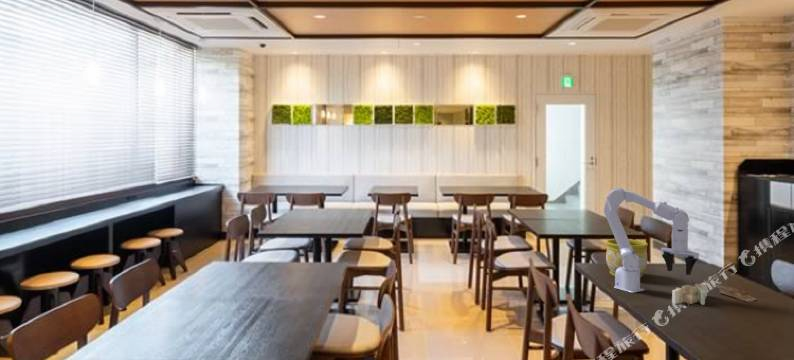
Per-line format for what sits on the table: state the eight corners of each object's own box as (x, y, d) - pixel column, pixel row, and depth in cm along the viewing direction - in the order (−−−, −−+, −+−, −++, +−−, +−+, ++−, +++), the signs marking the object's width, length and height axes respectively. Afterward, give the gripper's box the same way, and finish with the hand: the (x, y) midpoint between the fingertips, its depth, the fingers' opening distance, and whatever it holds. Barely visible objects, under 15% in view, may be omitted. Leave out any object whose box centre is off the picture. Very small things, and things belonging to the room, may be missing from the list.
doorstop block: (681, 300, 201) (681, 286, 201) (687, 299, 203) (688, 284, 202) (691, 303, 197) (691, 288, 197) (697, 302, 199) (698, 287, 199)
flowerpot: (605, 279, 235) (605, 244, 234) (605, 270, 251) (606, 237, 250) (648, 282, 228) (649, 246, 227) (645, 273, 245) (646, 239, 244)
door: (701, 304, 195) (702, 292, 194) (695, 297, 204) (695, 285, 204) (706, 304, 194) (706, 292, 194) (700, 297, 204) (700, 285, 203)
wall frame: (671, 303, 198) (671, 288, 198) (702, 295, 208) (703, 281, 208) (675, 304, 197) (676, 290, 196) (707, 296, 207) (708, 282, 206)
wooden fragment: (763, 303, 197) (763, 300, 197) (732, 302, 199) (732, 299, 199) (732, 286, 223) (732, 283, 223) (704, 285, 225) (704, 282, 225)
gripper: (657, 238, 211) (656, 270, 212) (692, 243, 199) (691, 277, 200) (666, 236, 215) (666, 268, 216) (702, 241, 203) (701, 275, 204)
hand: (679, 272), depth 208 cm, fingers open, 7 cm apart
